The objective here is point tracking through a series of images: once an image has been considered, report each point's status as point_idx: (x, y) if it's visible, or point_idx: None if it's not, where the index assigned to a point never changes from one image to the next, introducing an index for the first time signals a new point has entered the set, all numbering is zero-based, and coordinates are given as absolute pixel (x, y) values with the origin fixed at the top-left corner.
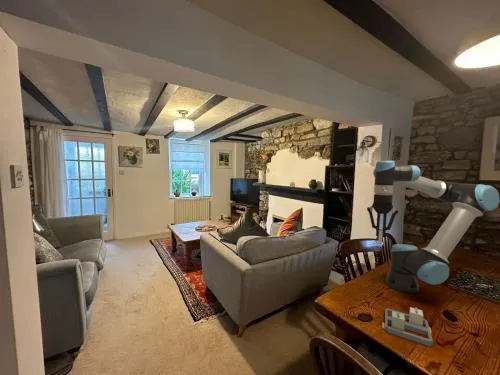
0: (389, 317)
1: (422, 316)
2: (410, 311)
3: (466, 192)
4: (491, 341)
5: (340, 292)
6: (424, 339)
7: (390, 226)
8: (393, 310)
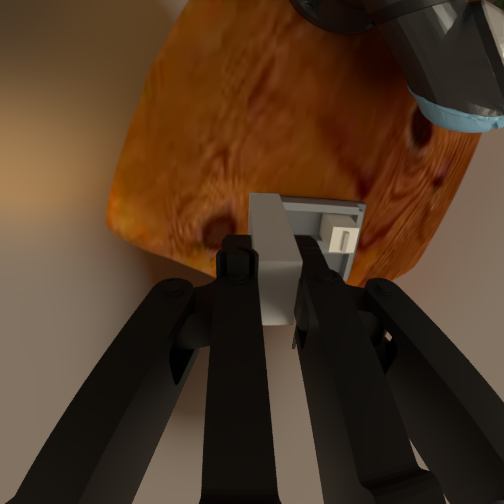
0: None
1: (351, 251)
2: (329, 244)
3: None
4: (451, 193)
5: (138, 141)
6: None
7: (388, 367)
8: (291, 204)
